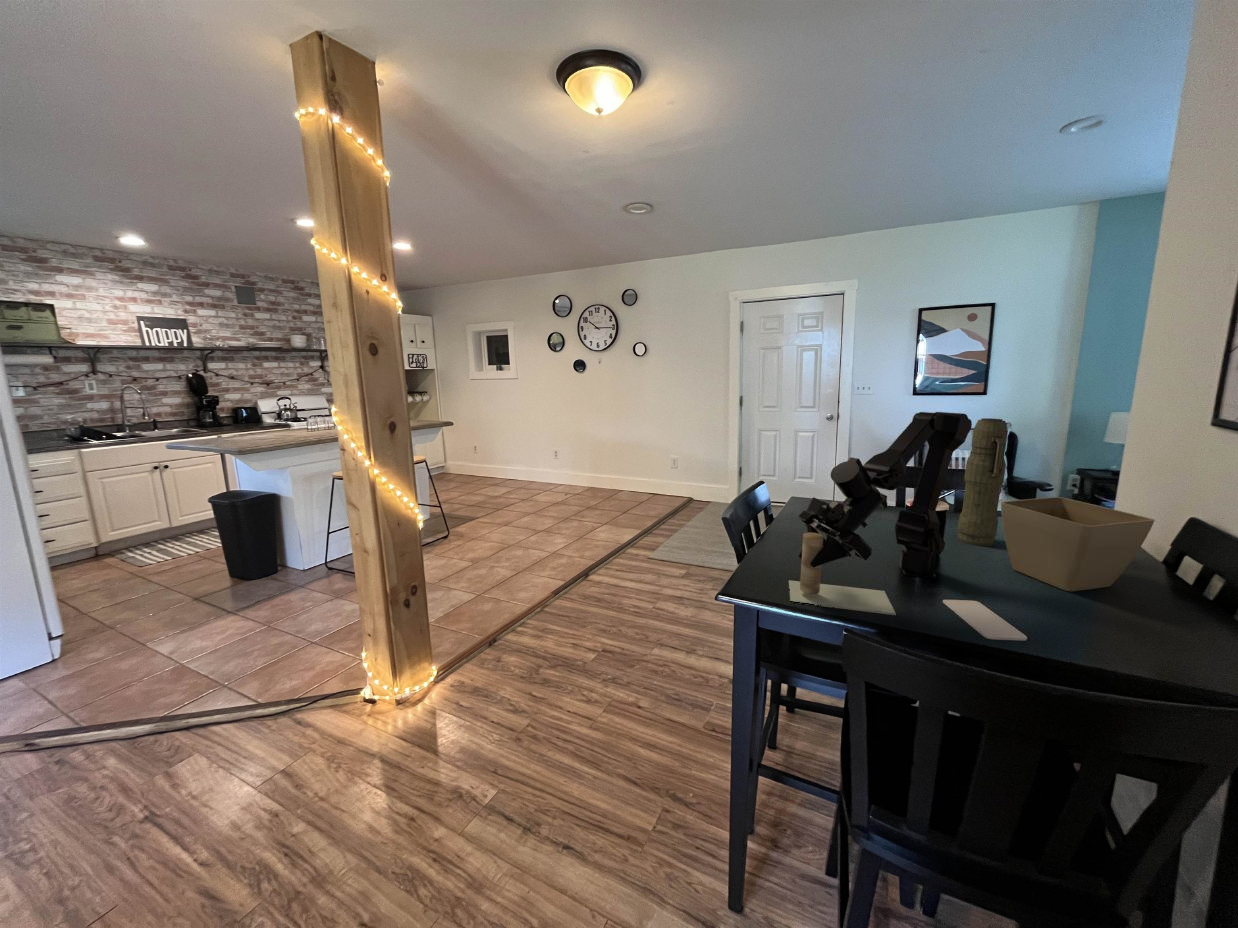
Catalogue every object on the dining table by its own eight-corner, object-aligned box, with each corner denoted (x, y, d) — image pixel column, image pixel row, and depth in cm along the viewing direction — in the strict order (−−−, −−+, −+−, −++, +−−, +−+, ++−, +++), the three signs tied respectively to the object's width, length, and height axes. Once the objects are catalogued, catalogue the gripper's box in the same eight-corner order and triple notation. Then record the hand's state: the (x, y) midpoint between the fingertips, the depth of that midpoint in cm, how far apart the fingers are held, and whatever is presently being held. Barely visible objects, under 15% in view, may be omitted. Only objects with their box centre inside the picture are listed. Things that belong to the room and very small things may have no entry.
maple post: (818, 587, 105) (822, 533, 103) (820, 595, 102) (824, 539, 99) (799, 584, 107) (802, 531, 104) (800, 592, 103) (803, 537, 101)
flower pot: (1142, 592, 105) (1158, 518, 102) (1075, 601, 101) (1089, 525, 98) (1048, 559, 123) (1059, 496, 120) (989, 566, 119) (998, 501, 116)
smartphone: (977, 600, 101) (1030, 638, 86) (976, 603, 101) (1029, 642, 87) (940, 599, 102) (986, 636, 87) (940, 602, 102) (986, 640, 87)
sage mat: (884, 592, 106) (884, 590, 106) (895, 615, 96) (895, 613, 96) (788, 581, 112) (788, 580, 112) (790, 602, 102) (790, 600, 102)
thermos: (976, 533, 143) (992, 417, 136) (1006, 548, 131) (1025, 421, 124) (946, 533, 143) (960, 417, 136) (973, 548, 131) (991, 421, 125)
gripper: (808, 476, 109) (761, 525, 110) (863, 496, 91) (807, 555, 92) (836, 506, 112) (791, 554, 112) (895, 532, 94) (841, 589, 94)
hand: (805, 562), depth 103 cm, fingers closed on maple post, 4 cm apart
